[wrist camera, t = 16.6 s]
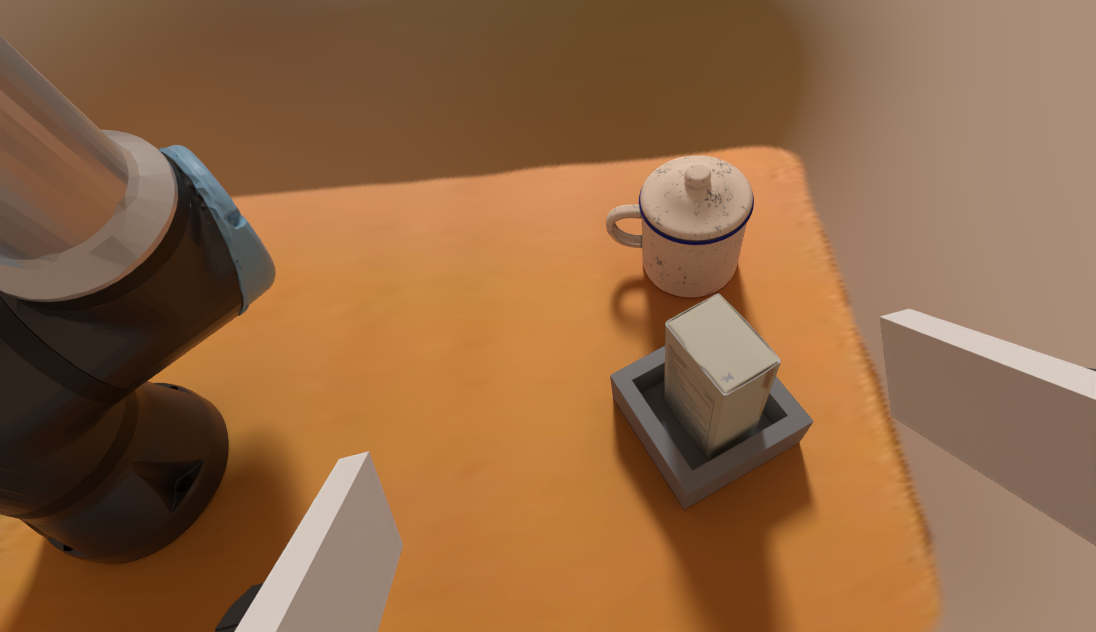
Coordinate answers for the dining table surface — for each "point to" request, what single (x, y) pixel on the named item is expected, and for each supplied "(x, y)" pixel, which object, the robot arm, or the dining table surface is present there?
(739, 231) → the teacup with lid
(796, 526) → the dining table surface
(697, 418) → the skincare box
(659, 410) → the tray
